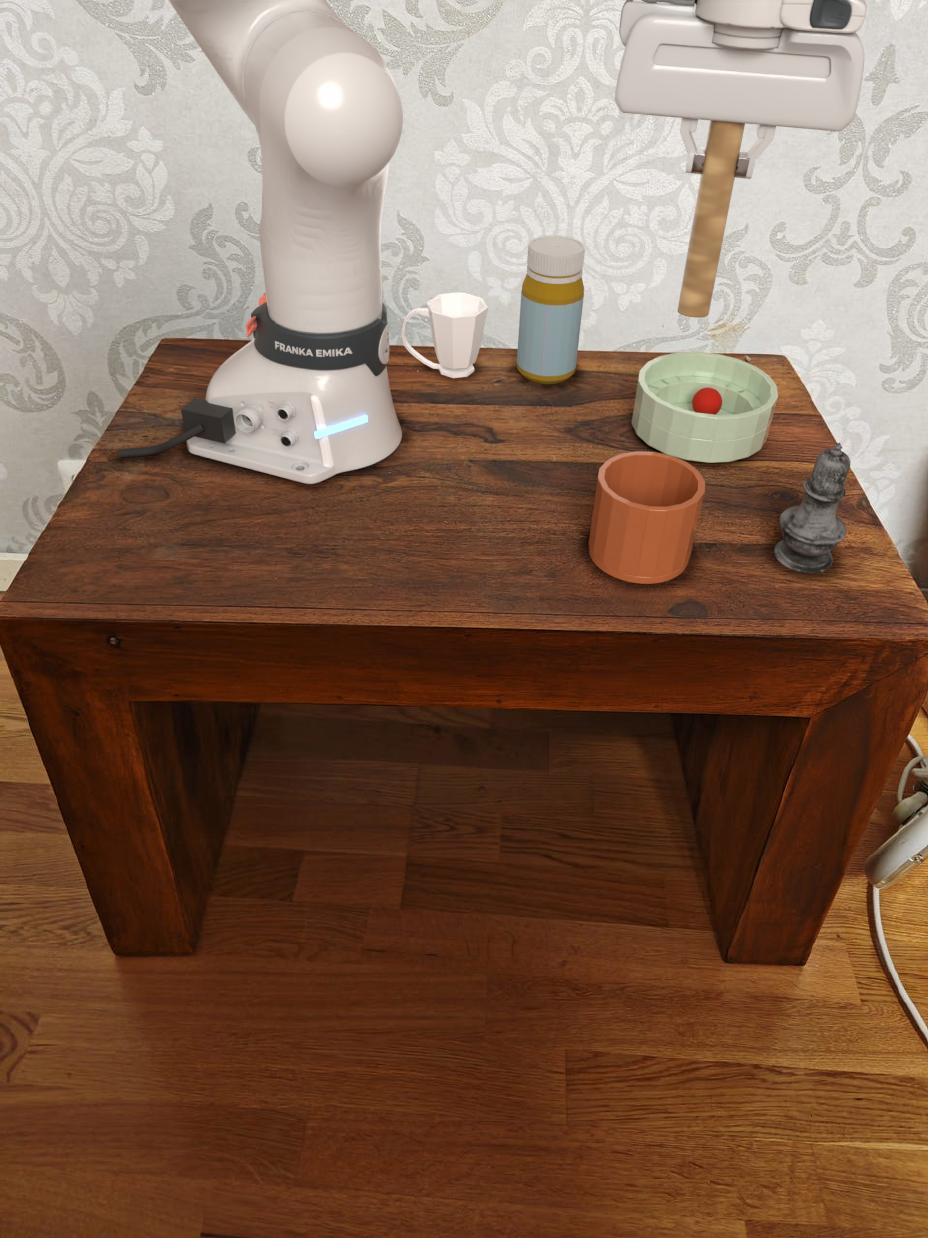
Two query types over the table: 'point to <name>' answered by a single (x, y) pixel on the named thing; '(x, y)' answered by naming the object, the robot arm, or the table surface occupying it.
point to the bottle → (551, 309)
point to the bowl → (702, 436)
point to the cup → (453, 332)
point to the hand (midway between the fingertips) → (718, 174)
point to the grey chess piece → (815, 516)
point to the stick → (710, 217)
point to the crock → (645, 516)
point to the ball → (707, 401)
